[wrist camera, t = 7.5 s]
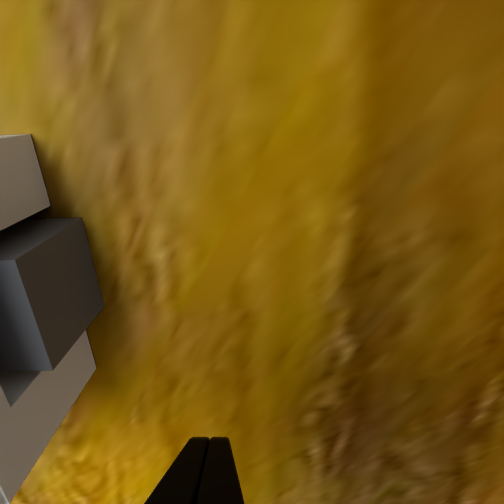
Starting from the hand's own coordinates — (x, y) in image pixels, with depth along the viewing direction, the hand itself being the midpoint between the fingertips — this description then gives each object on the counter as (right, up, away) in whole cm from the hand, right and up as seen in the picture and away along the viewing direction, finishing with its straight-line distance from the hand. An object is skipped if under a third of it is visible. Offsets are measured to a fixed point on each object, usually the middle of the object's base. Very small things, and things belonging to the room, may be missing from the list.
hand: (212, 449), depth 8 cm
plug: (-9, +4, +9) cm, 13 cm away
